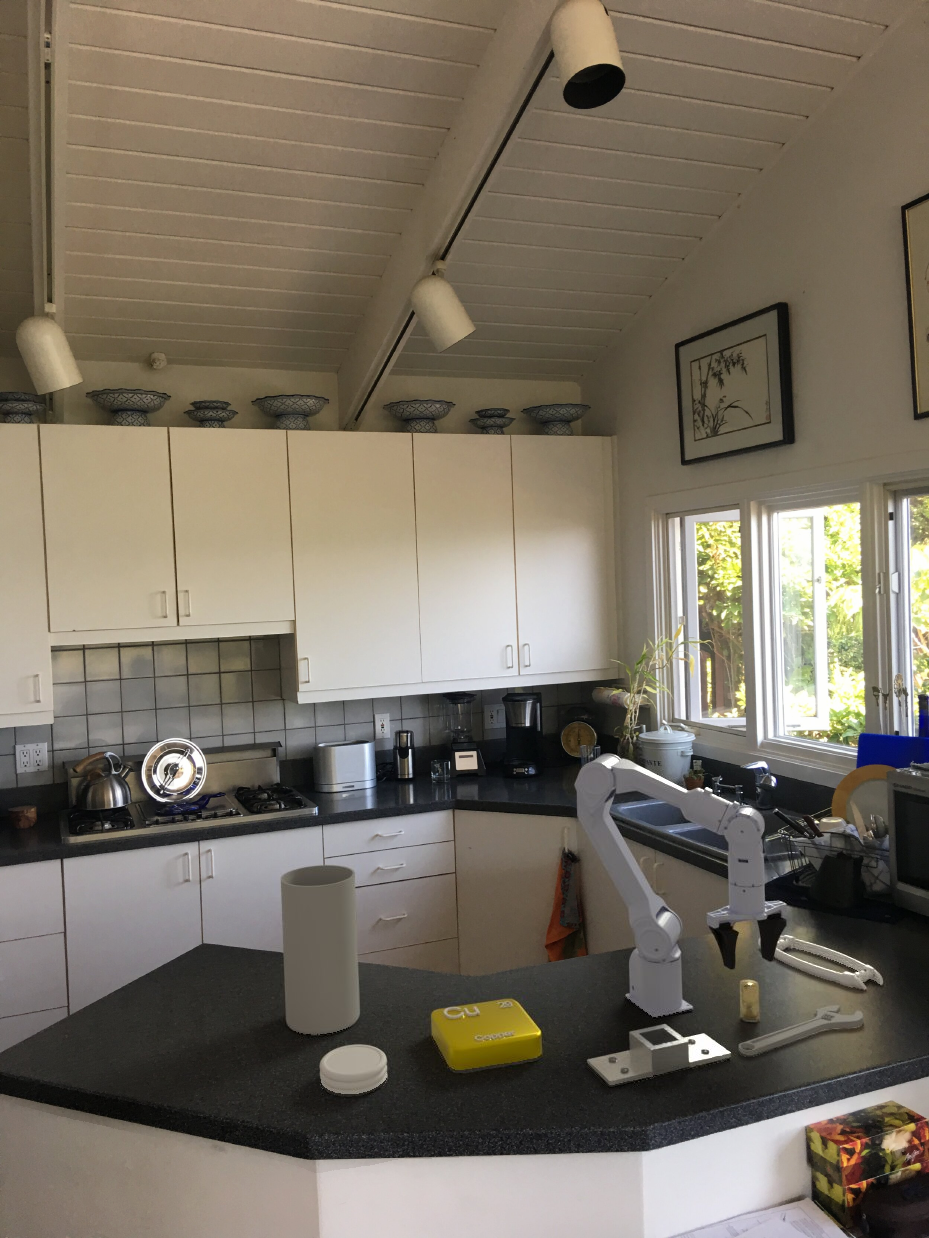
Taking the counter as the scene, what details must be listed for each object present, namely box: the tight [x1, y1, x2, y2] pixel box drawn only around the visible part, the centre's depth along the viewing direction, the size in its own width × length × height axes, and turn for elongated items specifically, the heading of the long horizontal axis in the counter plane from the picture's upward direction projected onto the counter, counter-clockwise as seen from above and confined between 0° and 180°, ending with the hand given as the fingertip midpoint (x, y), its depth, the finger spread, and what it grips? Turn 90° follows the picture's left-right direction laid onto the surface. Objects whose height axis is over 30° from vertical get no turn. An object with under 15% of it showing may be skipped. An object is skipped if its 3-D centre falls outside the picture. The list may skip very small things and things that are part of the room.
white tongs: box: [757, 934, 884, 991], centre depth 179 cm, size 3×10×25 cm
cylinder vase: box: [280, 864, 361, 1036], centre depth 162 cm, size 12×12×25 cm
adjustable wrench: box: [738, 1004, 864, 1055], centre depth 152 cm, size 25×6×2 cm, turn 113°
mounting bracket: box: [586, 1023, 732, 1085], centre depth 143 cm, size 7×21×4 cm, turn 110°
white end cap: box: [319, 1044, 388, 1094], centre depth 141 cm, size 10×10×4 cm
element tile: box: [430, 998, 543, 1070], centre depth 151 cm, size 15×15×5 cm
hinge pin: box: [739, 979, 760, 1020], centre depth 157 cm, size 3×3×6 cm
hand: (748, 963), depth 157 cm, fingers open, 7 cm apart
